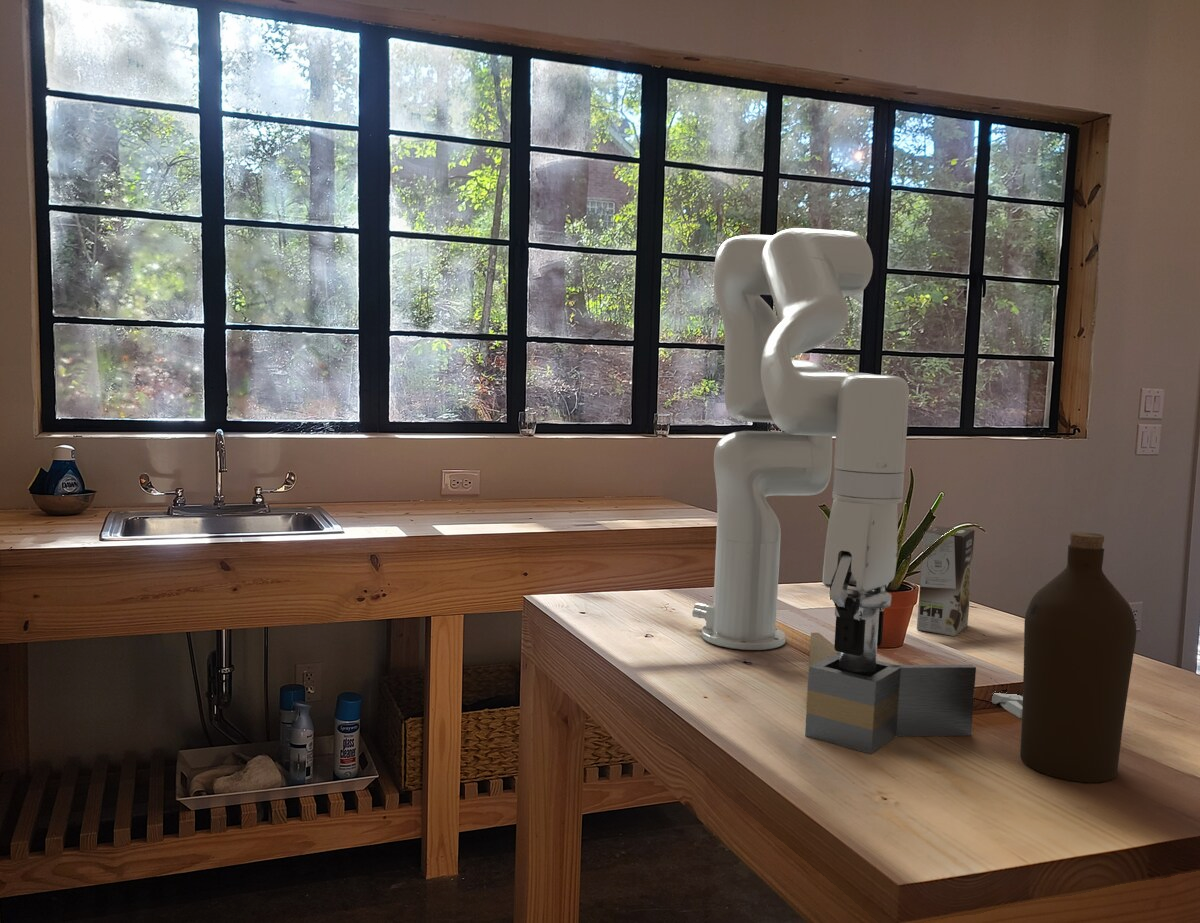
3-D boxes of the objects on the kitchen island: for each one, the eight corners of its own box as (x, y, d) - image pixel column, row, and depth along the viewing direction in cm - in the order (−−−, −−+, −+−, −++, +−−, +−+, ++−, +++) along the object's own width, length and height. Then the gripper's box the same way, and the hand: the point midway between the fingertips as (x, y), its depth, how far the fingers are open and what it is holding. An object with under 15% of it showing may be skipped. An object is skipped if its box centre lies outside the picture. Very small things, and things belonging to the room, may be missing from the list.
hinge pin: (818, 667, 111) (822, 592, 110) (842, 655, 116) (846, 584, 115) (873, 679, 107) (877, 602, 107) (895, 667, 112) (900, 593, 112)
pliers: (995, 669, 136) (1069, 706, 122) (994, 680, 136) (1068, 719, 122) (930, 671, 134) (997, 709, 120) (929, 682, 134) (996, 722, 120)
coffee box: (956, 637, 157) (964, 536, 155) (915, 630, 160) (922, 531, 159) (969, 625, 164) (976, 528, 163) (929, 619, 168) (936, 524, 166)
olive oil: (1084, 794, 99) (1106, 546, 97) (993, 756, 108) (1010, 528, 105) (1144, 774, 105) (1166, 539, 102) (1052, 740, 114) (1070, 523, 111)
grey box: (755, 721, 116) (758, 654, 115) (809, 692, 127) (813, 631, 126) (929, 770, 103) (934, 695, 103) (972, 733, 115) (978, 666, 114)
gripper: (866, 478, 119) (857, 628, 121) (802, 488, 106) (793, 657, 107) (928, 484, 114) (918, 640, 116) (869, 496, 101) (859, 672, 103)
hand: (858, 646), depth 112 cm, fingers closed on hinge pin, 4 cm apart
